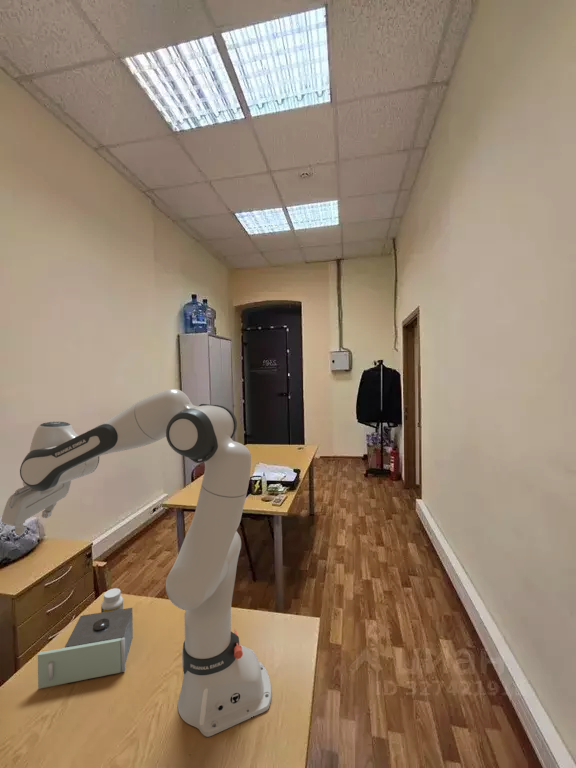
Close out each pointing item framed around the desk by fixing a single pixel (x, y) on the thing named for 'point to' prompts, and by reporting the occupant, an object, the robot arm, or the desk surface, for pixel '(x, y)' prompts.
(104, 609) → the pill bottle
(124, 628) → the cabinet box
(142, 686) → the desk surface
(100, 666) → the side door
